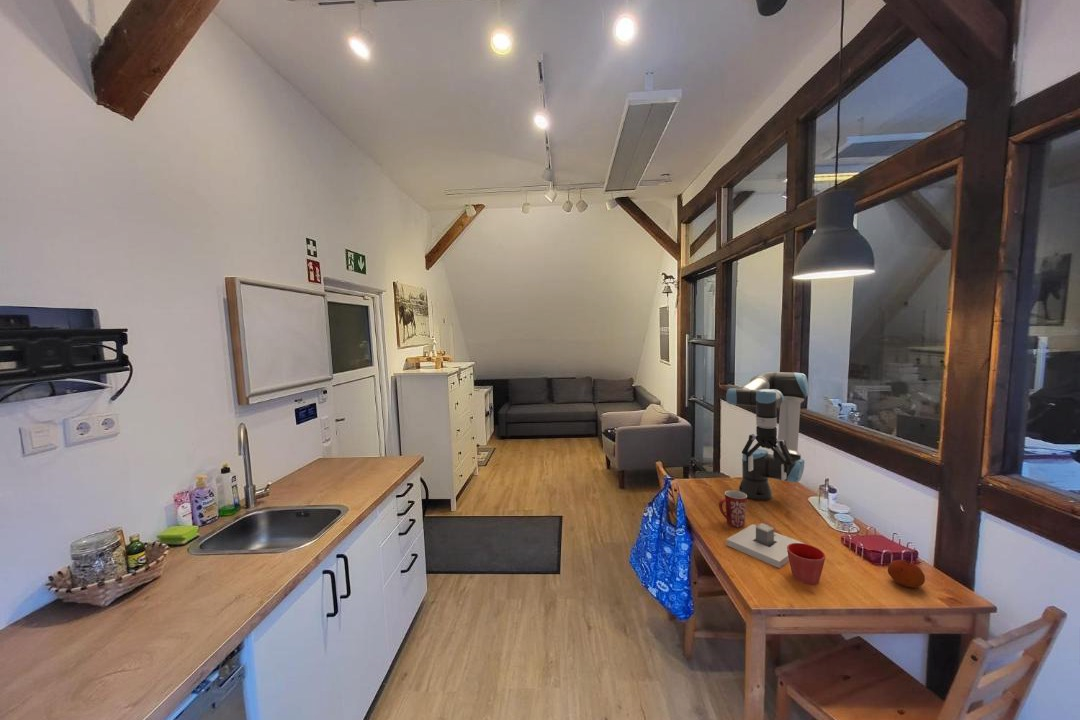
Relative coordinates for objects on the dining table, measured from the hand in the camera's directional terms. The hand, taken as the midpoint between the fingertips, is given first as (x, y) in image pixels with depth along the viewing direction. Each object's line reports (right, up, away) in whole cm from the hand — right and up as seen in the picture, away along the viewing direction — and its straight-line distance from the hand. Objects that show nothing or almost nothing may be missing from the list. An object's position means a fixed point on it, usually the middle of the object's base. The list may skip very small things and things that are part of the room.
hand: (766, 474), depth 171 cm
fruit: (+24, -25, -38) cm, 52 cm away
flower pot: (-6, -26, -33) cm, 43 cm away
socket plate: (-8, -25, -13) cm, 29 cm away
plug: (-8, -24, -13) cm, 29 cm away
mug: (-12, -24, +6) cm, 27 cm away
